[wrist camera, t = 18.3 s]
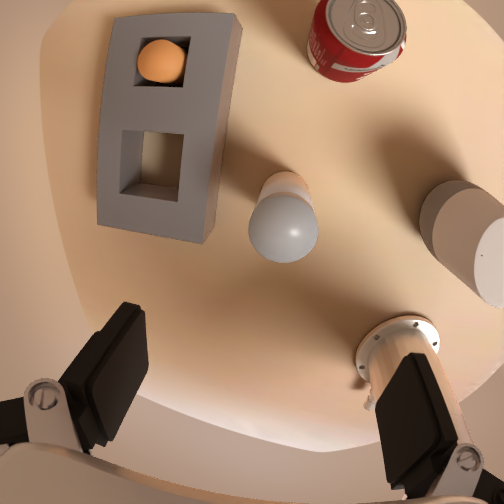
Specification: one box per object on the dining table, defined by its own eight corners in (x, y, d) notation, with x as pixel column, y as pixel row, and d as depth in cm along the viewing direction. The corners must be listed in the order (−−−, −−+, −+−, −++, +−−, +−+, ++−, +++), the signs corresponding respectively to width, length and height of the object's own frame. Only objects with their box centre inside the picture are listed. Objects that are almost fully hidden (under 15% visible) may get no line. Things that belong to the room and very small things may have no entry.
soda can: (301, 75, 27) (309, 49, 16) (311, 17, 24) (322, -33, 13) (367, 91, 27) (409, 77, 16) (375, 33, 24) (418, -4, 13)
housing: (214, 226, 35) (202, 244, 30) (119, 210, 35) (97, 224, 31) (242, 28, 25) (234, 13, 21) (136, 28, 26) (114, 18, 21)
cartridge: (304, 221, 33) (309, 268, 23) (258, 212, 33) (244, 256, 23) (313, 176, 31) (325, 204, 21) (265, 167, 31) (254, 191, 21)
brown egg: (192, 86, 28) (175, 81, 23) (156, 84, 28) (134, 80, 23) (198, 49, 26) (182, 39, 22) (161, 49, 26) (141, 40, 22)
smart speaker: (486, 188, 29) (561, 230, 16) (462, 257, 32) (521, 321, 20) (424, 164, 29) (497, 198, 16) (401, 241, 33) (452, 311, 20)
